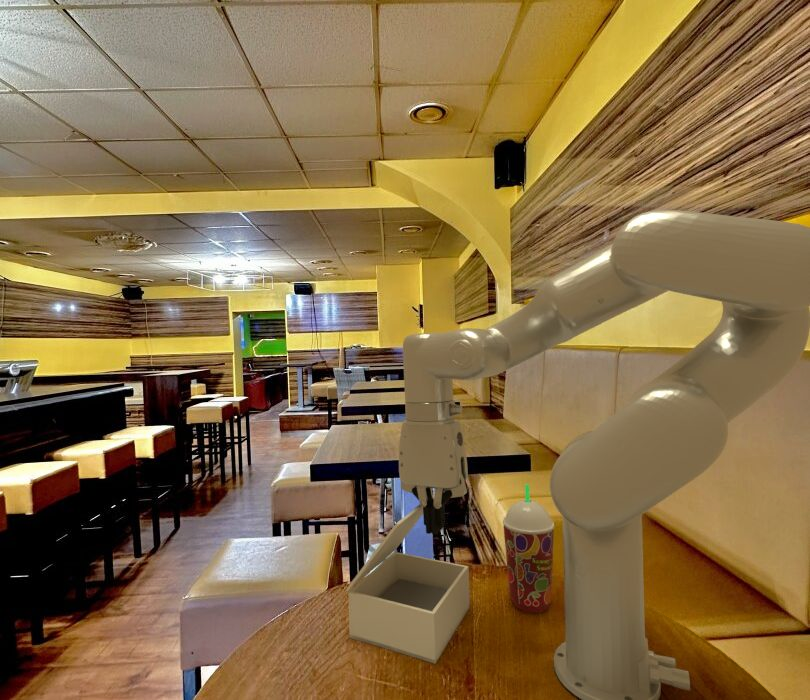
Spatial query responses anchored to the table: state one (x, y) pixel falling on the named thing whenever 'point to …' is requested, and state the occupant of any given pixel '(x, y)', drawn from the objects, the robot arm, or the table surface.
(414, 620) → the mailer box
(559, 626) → the table surface
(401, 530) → the lid
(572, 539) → the robot arm
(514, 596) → the smoothie
